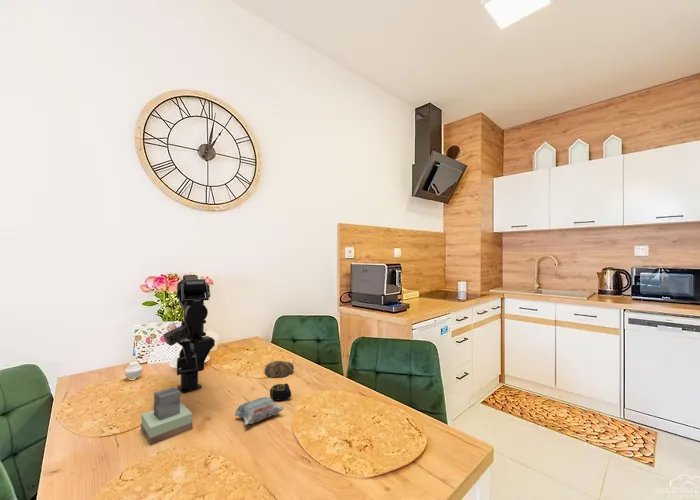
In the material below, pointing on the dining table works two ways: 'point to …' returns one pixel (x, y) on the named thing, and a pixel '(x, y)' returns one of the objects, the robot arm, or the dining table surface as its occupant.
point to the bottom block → (166, 433)
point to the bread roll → (279, 369)
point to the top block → (165, 421)
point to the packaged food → (258, 410)
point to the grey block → (166, 403)
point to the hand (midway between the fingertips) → (193, 365)
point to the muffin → (133, 370)
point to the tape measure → (280, 392)
